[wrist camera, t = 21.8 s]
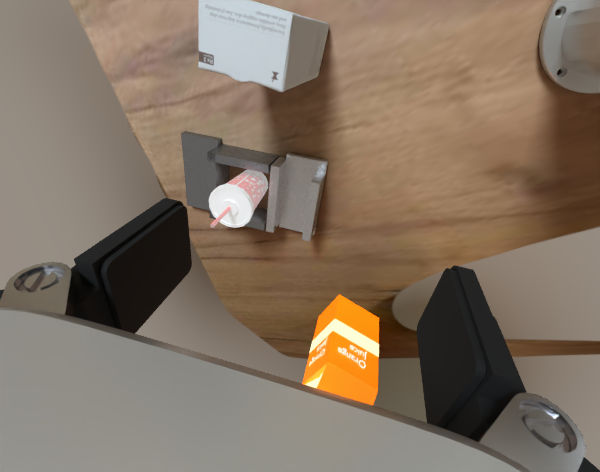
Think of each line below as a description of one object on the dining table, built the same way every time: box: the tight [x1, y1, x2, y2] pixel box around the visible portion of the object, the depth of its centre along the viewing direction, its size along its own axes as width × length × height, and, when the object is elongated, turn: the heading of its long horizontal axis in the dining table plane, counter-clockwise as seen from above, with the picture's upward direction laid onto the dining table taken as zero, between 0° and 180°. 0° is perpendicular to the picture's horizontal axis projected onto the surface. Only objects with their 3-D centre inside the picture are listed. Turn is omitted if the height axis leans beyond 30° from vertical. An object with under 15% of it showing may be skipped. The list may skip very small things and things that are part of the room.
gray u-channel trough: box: [266, 153, 328, 241], centre depth 44 cm, size 7×12×5 cm, turn 172°
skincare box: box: [198, 0, 329, 92], centre depth 30 cm, size 8×6×15 cm
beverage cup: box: [209, 169, 268, 228], centre depth 42 cm, size 6×6×14 cm
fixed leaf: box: [181, 131, 279, 231], centre depth 46 cm, size 15×12×4 cm
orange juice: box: [302, 294, 379, 405], centre depth 49 cm, size 8×9×20 cm
